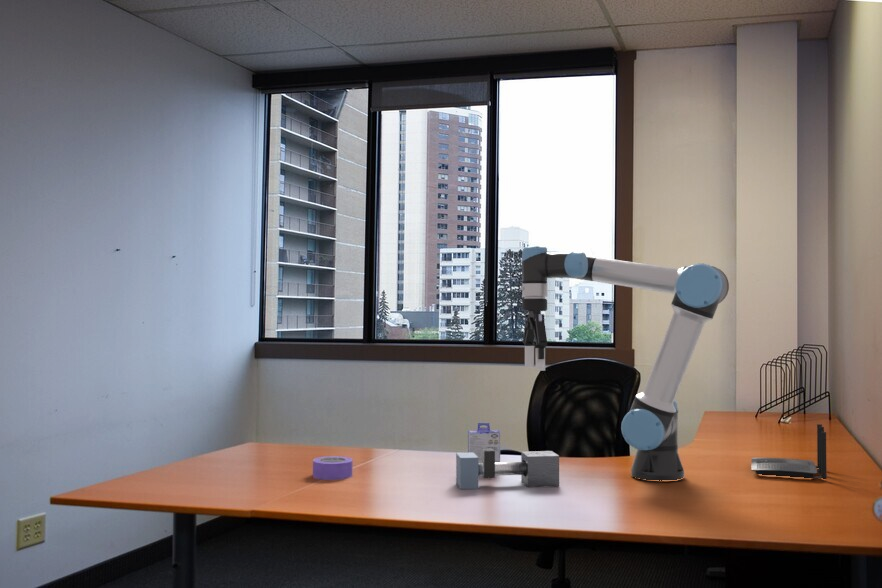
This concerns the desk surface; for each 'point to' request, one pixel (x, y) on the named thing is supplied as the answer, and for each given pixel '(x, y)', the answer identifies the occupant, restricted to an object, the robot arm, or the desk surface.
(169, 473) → the desk surface
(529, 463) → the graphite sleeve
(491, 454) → the metal rod with block
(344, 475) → the tape roll
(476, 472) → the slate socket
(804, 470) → the router
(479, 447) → the ink cartridge box
